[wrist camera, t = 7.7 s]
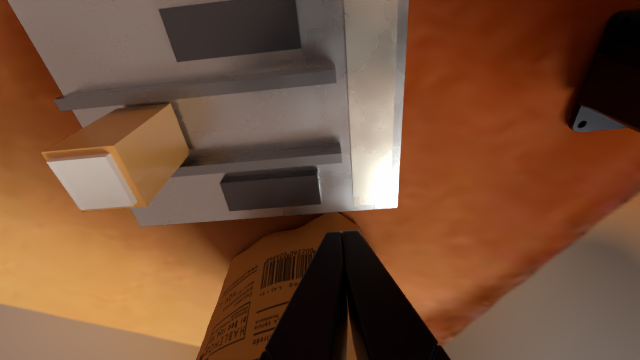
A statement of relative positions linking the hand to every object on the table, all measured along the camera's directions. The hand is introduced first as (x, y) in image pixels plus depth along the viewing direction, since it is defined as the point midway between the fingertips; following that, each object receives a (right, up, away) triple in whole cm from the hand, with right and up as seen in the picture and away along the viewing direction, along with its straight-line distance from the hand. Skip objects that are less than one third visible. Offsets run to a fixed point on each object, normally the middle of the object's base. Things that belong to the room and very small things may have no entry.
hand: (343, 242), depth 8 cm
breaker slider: (-10, +4, +9) cm, 14 cm away
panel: (-5, +6, +10) cm, 13 cm away
